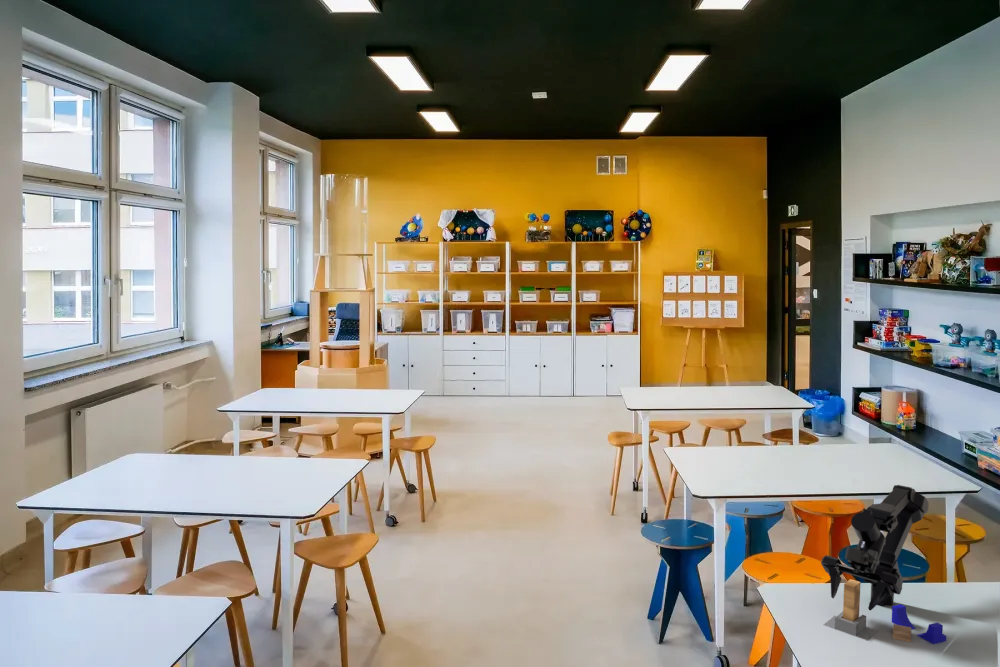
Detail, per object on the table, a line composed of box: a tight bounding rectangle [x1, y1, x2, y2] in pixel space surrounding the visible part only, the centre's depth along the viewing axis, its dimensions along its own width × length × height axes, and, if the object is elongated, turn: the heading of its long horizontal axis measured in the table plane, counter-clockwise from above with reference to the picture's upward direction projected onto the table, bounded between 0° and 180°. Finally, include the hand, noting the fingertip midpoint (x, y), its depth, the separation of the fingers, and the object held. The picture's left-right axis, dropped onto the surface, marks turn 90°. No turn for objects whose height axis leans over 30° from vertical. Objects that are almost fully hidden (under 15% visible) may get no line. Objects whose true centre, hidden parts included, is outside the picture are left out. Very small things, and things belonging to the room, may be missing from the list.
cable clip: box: [891, 604, 947, 645], centre depth 185 cm, size 12×4×6 cm, turn 21°
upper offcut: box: [892, 623, 912, 643], centre depth 183 cm, size 5×4×2 cm
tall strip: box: [842, 578, 862, 622], centre depth 187 cm, size 4×2×12 cm, turn 133°
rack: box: [823, 611, 879, 641], centre depth 187 cm, size 7×11×4 cm, turn 43°
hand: (850, 603), depth 186 cm, fingers open, 9 cm apart
